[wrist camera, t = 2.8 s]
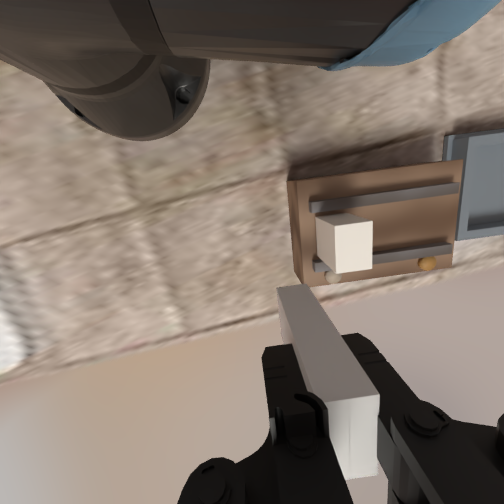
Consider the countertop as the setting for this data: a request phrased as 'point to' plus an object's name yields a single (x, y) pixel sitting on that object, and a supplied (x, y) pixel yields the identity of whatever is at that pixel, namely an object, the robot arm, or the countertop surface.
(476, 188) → the tray
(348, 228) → the toggle
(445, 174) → the switch box
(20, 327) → the countertop surface
